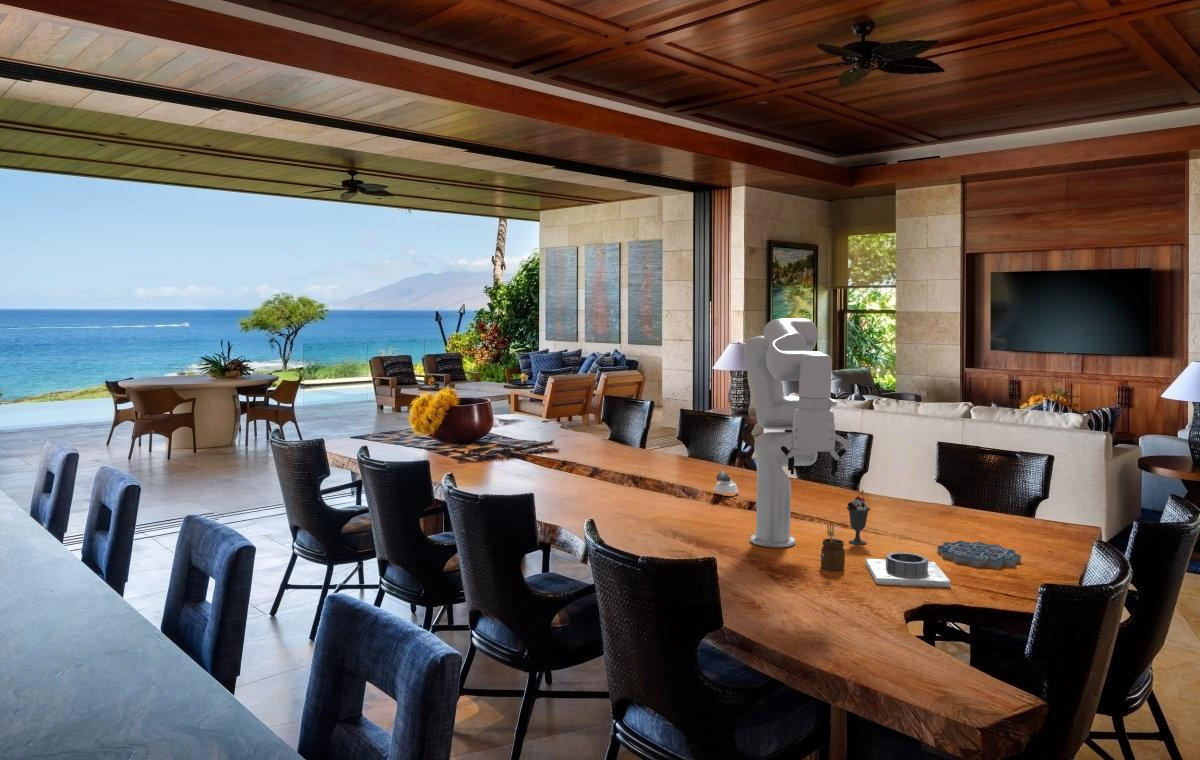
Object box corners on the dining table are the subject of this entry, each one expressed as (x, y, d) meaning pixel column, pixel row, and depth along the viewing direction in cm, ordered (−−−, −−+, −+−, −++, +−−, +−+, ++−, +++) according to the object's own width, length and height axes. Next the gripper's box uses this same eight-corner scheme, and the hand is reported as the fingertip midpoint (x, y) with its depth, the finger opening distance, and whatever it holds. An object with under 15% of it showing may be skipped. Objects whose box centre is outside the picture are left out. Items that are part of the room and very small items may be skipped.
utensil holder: (847, 566, 219) (848, 520, 218) (840, 572, 214) (842, 525, 213) (824, 563, 222) (825, 518, 221) (817, 569, 217) (818, 522, 216)
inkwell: (739, 492, 314) (740, 465, 313) (735, 502, 296) (736, 474, 296) (714, 491, 316) (715, 464, 315) (709, 501, 298) (709, 473, 298)
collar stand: (865, 564, 222) (866, 547, 221) (934, 567, 219) (934, 550, 219) (876, 583, 205) (877, 565, 204) (950, 587, 202) (951, 569, 202)
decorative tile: (951, 545, 243) (951, 537, 243) (1027, 558, 230) (1027, 549, 230) (927, 560, 227) (928, 551, 227) (1008, 574, 215) (1008, 565, 214)
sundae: (869, 540, 245) (870, 489, 244) (869, 546, 239) (871, 494, 238) (845, 539, 247) (846, 488, 246) (845, 544, 241) (847, 492, 240)
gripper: (849, 404, 208) (847, 473, 209) (777, 401, 211) (775, 470, 212) (853, 407, 200) (850, 479, 202) (778, 405, 204) (776, 475, 205)
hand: (812, 474), depth 207 cm, fingers open, 9 cm apart
